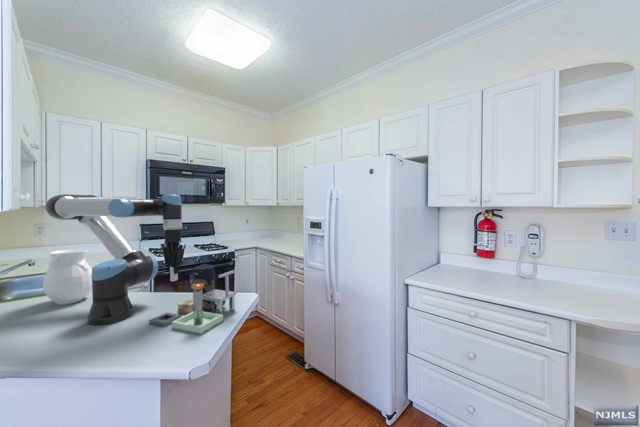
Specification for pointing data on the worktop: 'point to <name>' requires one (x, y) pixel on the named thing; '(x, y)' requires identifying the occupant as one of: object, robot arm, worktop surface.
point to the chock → (186, 307)
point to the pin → (198, 303)
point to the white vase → (68, 276)
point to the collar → (160, 319)
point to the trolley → (219, 297)
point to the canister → (204, 277)
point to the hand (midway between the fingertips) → (174, 280)
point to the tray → (188, 325)
